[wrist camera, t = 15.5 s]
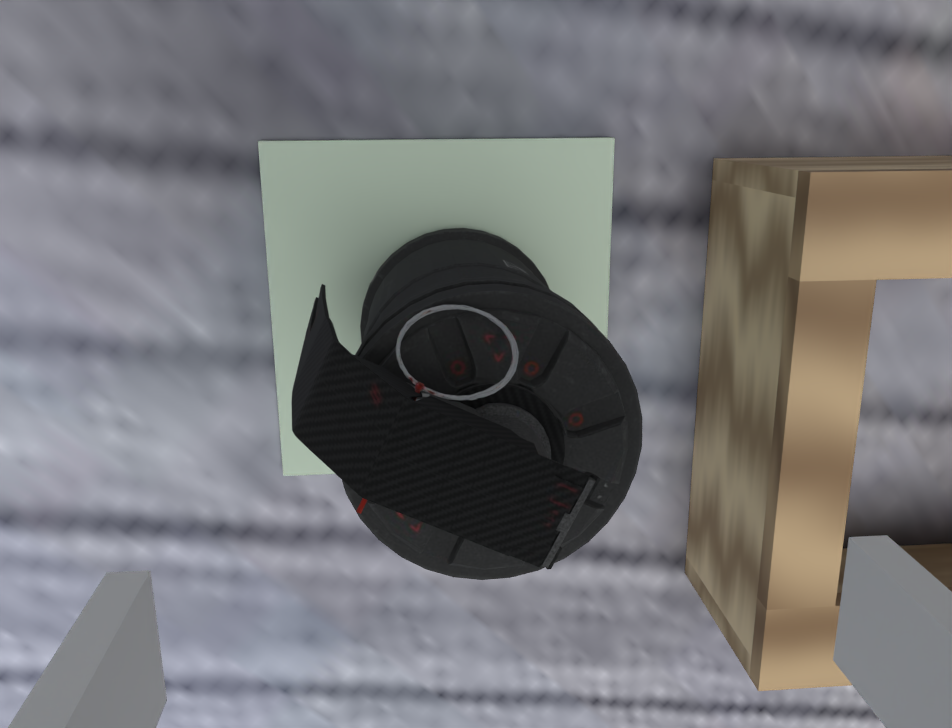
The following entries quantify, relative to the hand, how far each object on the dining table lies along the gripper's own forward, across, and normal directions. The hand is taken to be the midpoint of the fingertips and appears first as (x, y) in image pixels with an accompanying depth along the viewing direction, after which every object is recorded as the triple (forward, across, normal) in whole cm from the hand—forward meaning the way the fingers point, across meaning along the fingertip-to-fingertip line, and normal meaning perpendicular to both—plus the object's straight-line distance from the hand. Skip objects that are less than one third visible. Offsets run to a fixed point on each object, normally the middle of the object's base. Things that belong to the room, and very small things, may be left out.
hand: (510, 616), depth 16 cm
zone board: (+26, 0, 0) cm, 27 cm away
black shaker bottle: (+26, 0, 0) cm, 26 cm away
